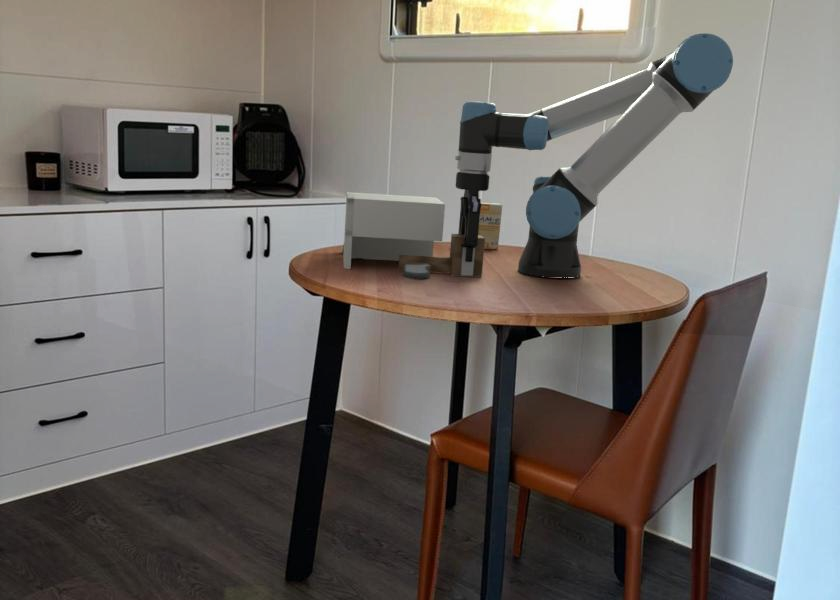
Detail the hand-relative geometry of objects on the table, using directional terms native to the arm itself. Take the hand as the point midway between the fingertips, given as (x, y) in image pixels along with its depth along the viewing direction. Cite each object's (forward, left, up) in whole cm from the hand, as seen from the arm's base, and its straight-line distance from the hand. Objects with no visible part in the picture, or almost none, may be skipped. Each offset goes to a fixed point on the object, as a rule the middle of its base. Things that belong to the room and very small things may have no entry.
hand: (464, 272), depth 185 cm
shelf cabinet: (+17, -7, 0) cm, 18 cm away
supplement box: (-12, -43, -1) cm, 45 cm away
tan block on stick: (+6, 0, 0) cm, 6 cm away
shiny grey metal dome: (+12, +6, 0) cm, 14 cm away
